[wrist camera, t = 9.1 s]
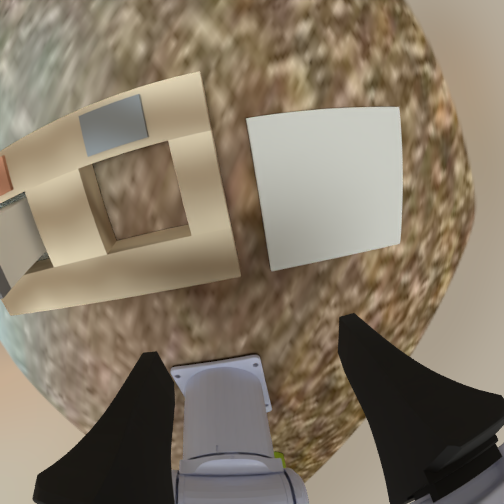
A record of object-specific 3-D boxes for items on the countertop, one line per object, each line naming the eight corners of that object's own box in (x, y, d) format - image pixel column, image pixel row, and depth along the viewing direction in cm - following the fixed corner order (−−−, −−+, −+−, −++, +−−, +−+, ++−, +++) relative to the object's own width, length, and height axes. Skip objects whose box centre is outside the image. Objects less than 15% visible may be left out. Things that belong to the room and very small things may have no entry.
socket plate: (238, 260, 20) (241, 279, 17) (20, 302, 19) (9, 317, 17) (202, 76, 14) (199, 70, 12) (-30, 176, 14) (-48, 184, 11)
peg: (53, 243, 17) (3, 298, 11) (19, 253, 17) (-29, 304, 11) (35, 192, 15) (-27, 233, 9) (2, 207, 15) (-55, 247, 9)
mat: (396, 240, 20) (400, 243, 20) (270, 267, 20) (271, 271, 20) (395, 106, 16) (399, 107, 15) (245, 118, 15) (246, 118, 15)
